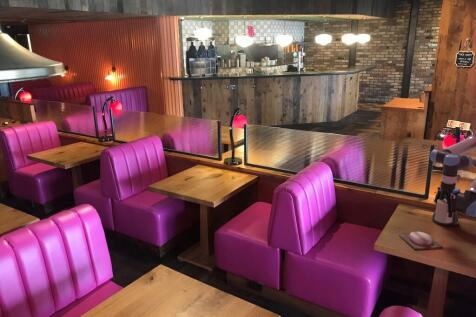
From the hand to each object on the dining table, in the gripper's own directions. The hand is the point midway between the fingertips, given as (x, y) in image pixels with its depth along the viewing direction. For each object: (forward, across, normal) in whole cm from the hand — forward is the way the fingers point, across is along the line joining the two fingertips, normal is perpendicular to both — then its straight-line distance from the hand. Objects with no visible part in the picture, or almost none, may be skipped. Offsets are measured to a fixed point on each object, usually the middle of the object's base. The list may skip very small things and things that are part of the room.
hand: (443, 218), depth 230 cm
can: (+1, 0, 0) cm, 1 cm away
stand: (+13, +2, -14) cm, 19 cm away
